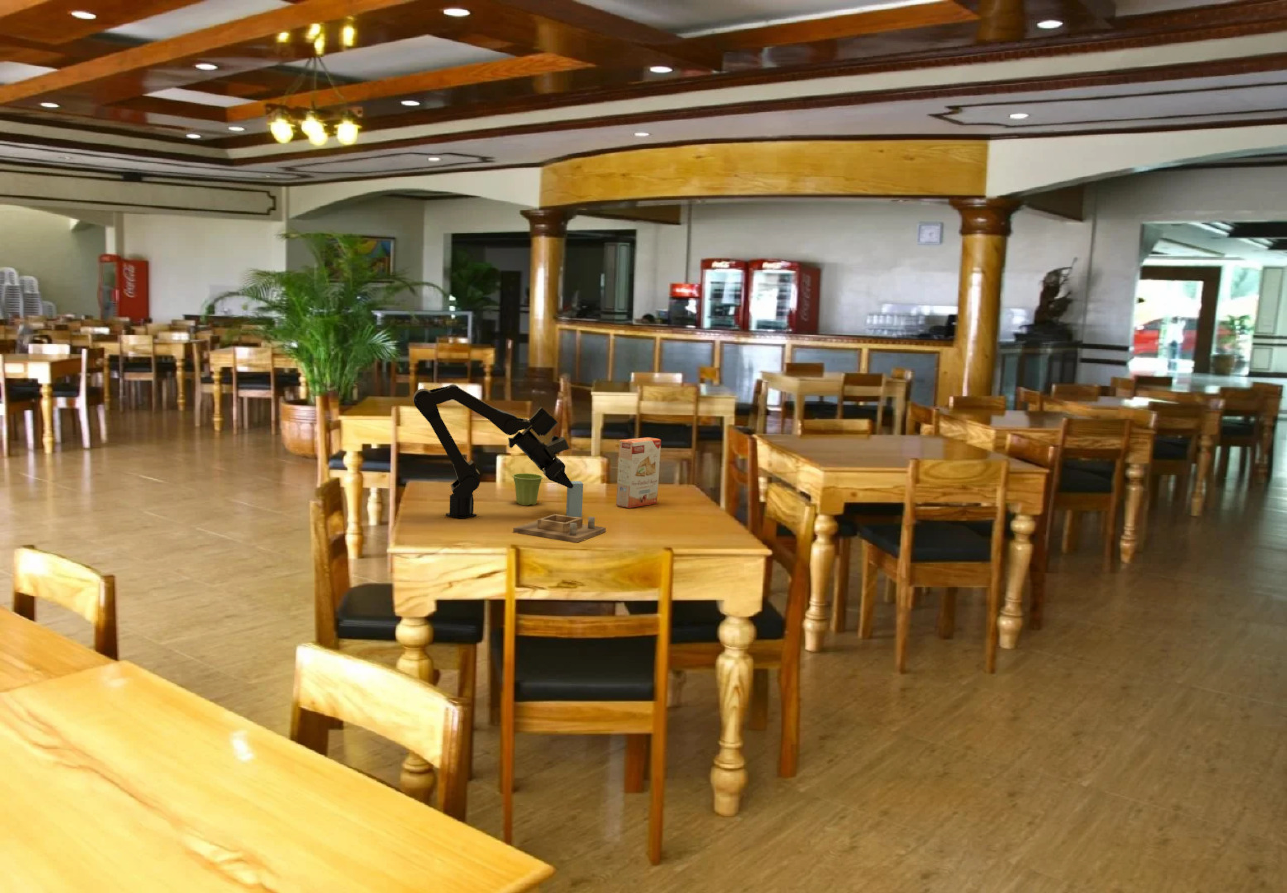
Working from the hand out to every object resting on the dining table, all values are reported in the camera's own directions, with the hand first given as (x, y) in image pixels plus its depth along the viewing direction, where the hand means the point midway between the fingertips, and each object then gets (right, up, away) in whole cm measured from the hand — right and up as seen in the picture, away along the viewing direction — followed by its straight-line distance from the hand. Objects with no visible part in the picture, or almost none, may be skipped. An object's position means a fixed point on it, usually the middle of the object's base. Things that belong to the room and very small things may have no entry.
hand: (569, 484), depth 316 cm
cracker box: (+20, -7, +22) cm, 31 cm away
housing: (-1, -12, -21) cm, 24 cm away
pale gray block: (+1, -9, +2) cm, 9 cm away
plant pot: (-14, -7, +16) cm, 23 cm away
